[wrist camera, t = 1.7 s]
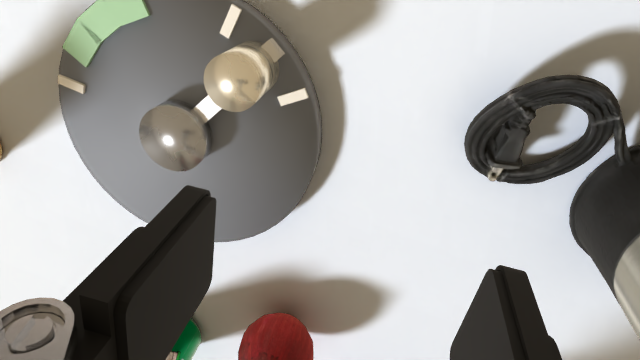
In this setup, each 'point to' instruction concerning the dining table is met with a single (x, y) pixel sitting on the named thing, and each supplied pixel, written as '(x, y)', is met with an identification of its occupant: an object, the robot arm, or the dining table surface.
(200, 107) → the needle
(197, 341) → the soda can
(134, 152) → the dial
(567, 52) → the dining table surface
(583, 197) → the milk frother
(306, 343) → the onion
